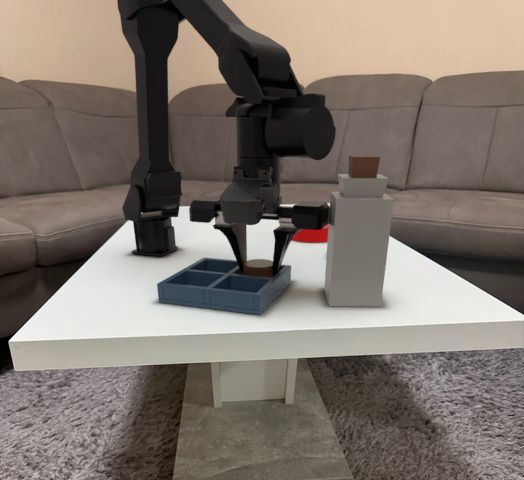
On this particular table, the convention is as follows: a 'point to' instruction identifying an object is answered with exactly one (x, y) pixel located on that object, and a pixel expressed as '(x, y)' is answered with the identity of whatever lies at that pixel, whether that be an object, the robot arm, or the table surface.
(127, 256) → the table surface
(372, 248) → the perfume bottle
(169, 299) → the holder
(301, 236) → the red ring
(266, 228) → the table surface
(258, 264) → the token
